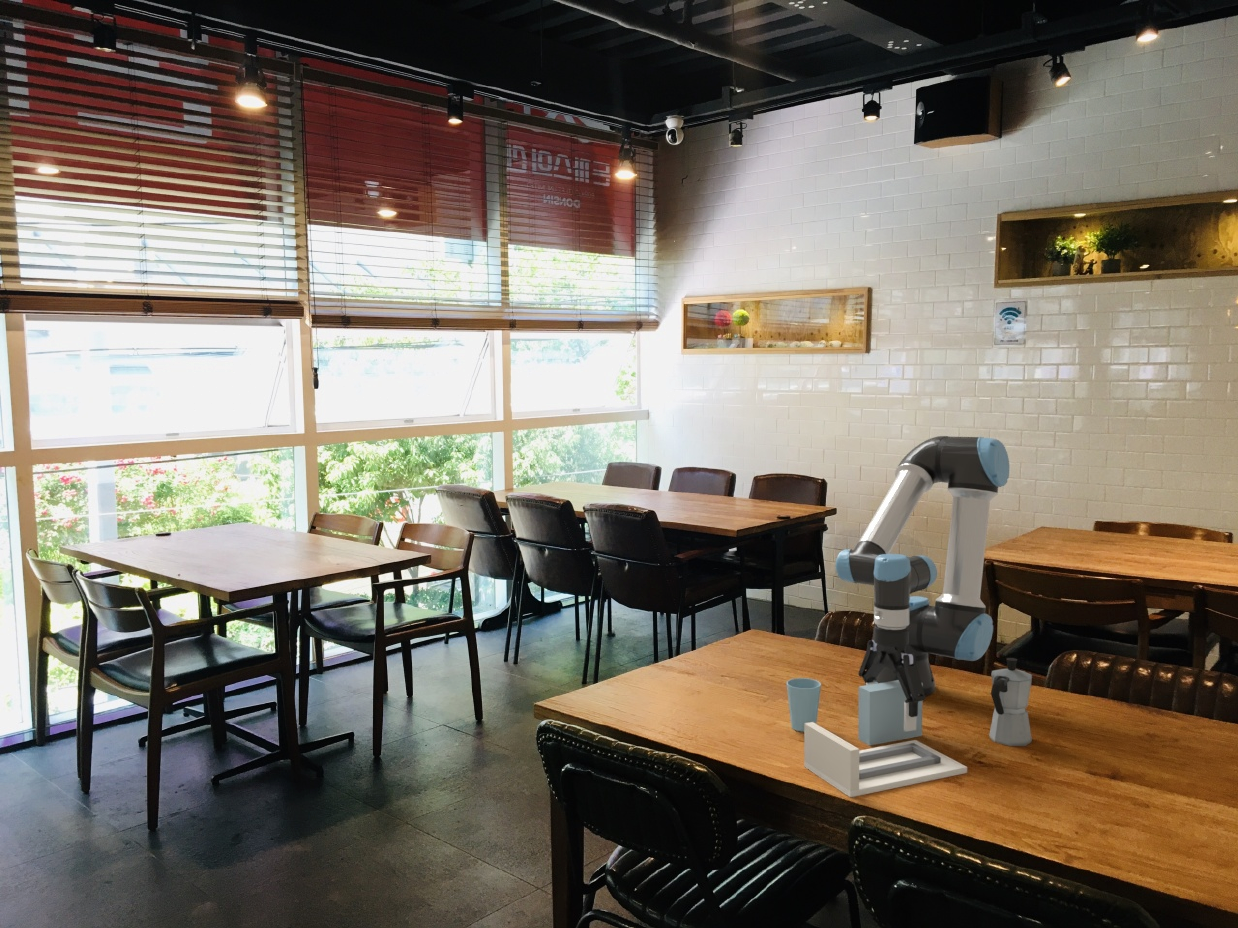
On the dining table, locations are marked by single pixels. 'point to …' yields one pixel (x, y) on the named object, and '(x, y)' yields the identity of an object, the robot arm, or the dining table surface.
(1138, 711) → the dining table surface
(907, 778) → the track
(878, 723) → the light blue block
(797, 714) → the cup
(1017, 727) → the coffee maker
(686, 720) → the dining table surface
